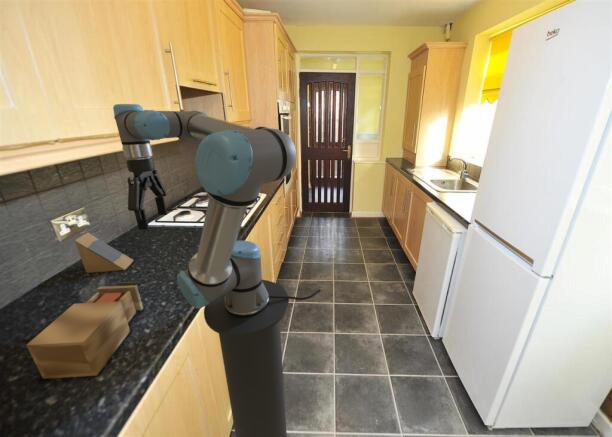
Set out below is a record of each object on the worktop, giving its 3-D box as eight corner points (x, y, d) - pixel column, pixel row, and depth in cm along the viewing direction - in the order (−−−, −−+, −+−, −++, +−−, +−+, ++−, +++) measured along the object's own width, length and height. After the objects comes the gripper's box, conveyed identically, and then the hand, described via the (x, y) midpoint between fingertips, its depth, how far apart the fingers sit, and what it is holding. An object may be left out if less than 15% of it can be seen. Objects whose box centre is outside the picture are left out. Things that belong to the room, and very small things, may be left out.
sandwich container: (125, 270, 112) (115, 237, 107) (85, 273, 110) (73, 240, 105) (134, 260, 120) (126, 229, 115) (97, 262, 118) (87, 231, 113)
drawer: (117, 298, 93) (110, 276, 90) (151, 297, 94) (145, 275, 90) (76, 342, 75) (65, 316, 72) (118, 339, 76) (110, 314, 72)
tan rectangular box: (85, 333, 79) (74, 303, 75) (130, 331, 80) (120, 301, 76) (42, 378, 65) (25, 345, 62) (97, 375, 66) (83, 342, 62)
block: (127, 310, 85) (122, 292, 83) (118, 321, 81) (111, 302, 78) (111, 311, 85) (105, 292, 83) (101, 322, 81) (94, 303, 78)
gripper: (147, 153, 95) (159, 209, 102) (100, 164, 71) (121, 237, 79) (168, 152, 95) (179, 209, 103) (129, 164, 72) (147, 236, 79)
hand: (154, 221), depth 91 cm, fingers open, 13 cm apart
